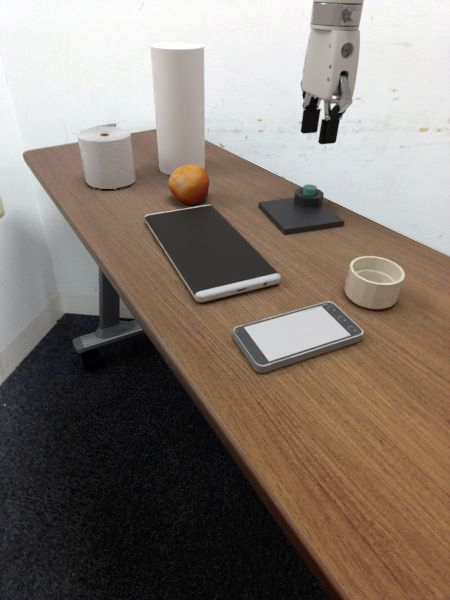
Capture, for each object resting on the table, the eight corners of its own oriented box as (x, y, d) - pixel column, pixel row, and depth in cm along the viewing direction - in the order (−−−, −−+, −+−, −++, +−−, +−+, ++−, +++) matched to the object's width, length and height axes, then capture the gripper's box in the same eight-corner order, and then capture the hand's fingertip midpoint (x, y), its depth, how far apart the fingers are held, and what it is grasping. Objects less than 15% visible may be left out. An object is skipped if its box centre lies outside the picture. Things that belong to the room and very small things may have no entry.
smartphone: (366, 333, 52) (258, 368, 47) (364, 339, 53) (258, 374, 48) (331, 300, 58) (230, 328, 52) (329, 306, 58) (230, 334, 53)
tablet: (197, 306, 58) (196, 296, 57) (143, 222, 77) (142, 213, 76) (282, 285, 62) (283, 275, 61) (211, 211, 82) (211, 202, 81)
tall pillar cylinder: (170, 179, 94) (162, 49, 79) (152, 164, 102) (142, 43, 87) (212, 172, 98) (213, 47, 83) (192, 158, 106) (190, 41, 91)
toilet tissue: (94, 194, 87) (85, 144, 81) (78, 175, 95) (69, 128, 89) (143, 185, 91) (138, 137, 85) (124, 167, 99) (118, 122, 93)
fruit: (225, 194, 85) (207, 163, 79) (196, 220, 84) (176, 192, 78) (203, 180, 90) (185, 151, 84) (176, 205, 89) (156, 178, 83)
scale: (312, 199, 87) (315, 186, 85) (344, 226, 78) (347, 211, 76) (257, 207, 84) (258, 192, 82) (284, 235, 75) (286, 219, 73)
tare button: (311, 191, 84) (312, 183, 83) (318, 196, 82) (319, 188, 81) (299, 192, 83) (300, 185, 82) (306, 197, 81) (307, 190, 81)
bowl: (376, 278, 64) (383, 252, 62) (406, 306, 59) (416, 279, 56) (334, 286, 62) (340, 260, 60) (362, 316, 57) (369, 288, 54)
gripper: (390, 22, 60) (362, 151, 71) (328, 13, 73) (313, 123, 84) (344, 22, 58) (322, 154, 69) (289, 13, 71) (278, 126, 82)
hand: (317, 136), depth 76 cm, fingers open, 5 cm apart
